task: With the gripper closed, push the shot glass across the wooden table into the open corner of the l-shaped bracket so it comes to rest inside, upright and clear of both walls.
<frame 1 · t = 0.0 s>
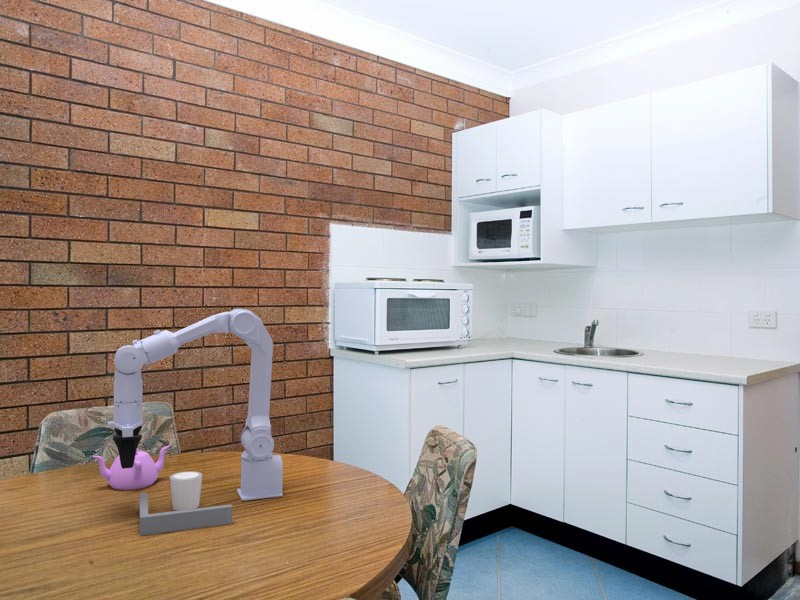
hand: (127, 463, 133), 10 cm above the table, fingers open, 7 cm apart
shot glass: (185, 507, 136), on the table
l-shaped bracket: (188, 516, 130), on the table
teapot: (131, 485, 151), on the table
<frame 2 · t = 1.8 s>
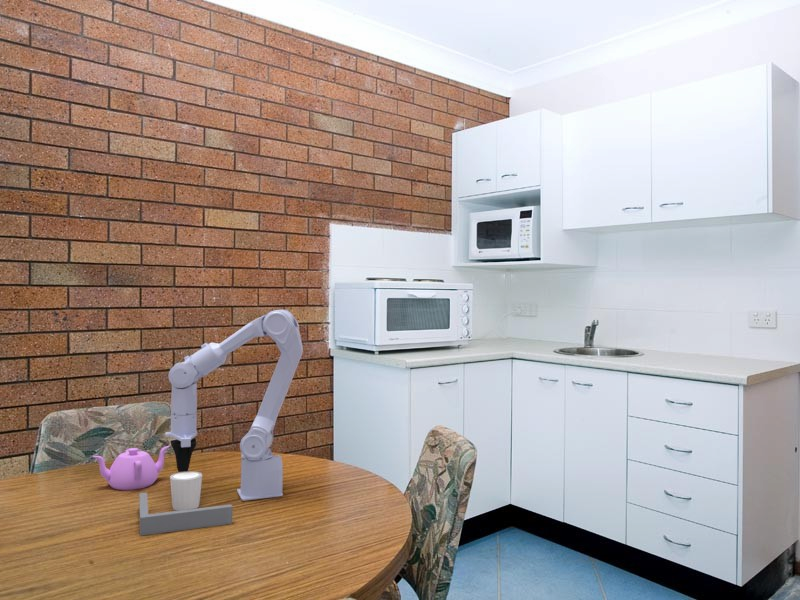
hand: (182, 471, 143), 6 cm above the table, fingers closed
nothing on the table moved.
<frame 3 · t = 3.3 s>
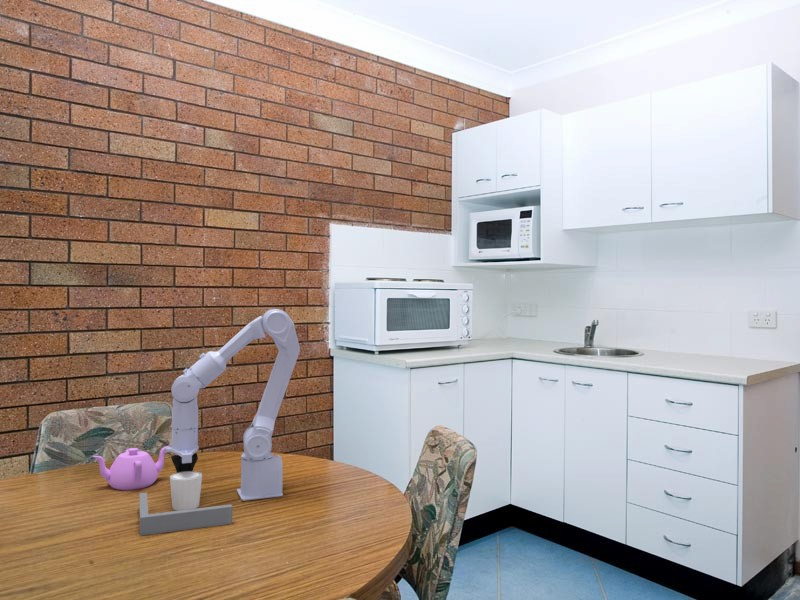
hand: (184, 486, 140), 3 cm above the table, fingers closed
shot glass: (185, 507, 136), on the table, touching gripper
everything else where it was.
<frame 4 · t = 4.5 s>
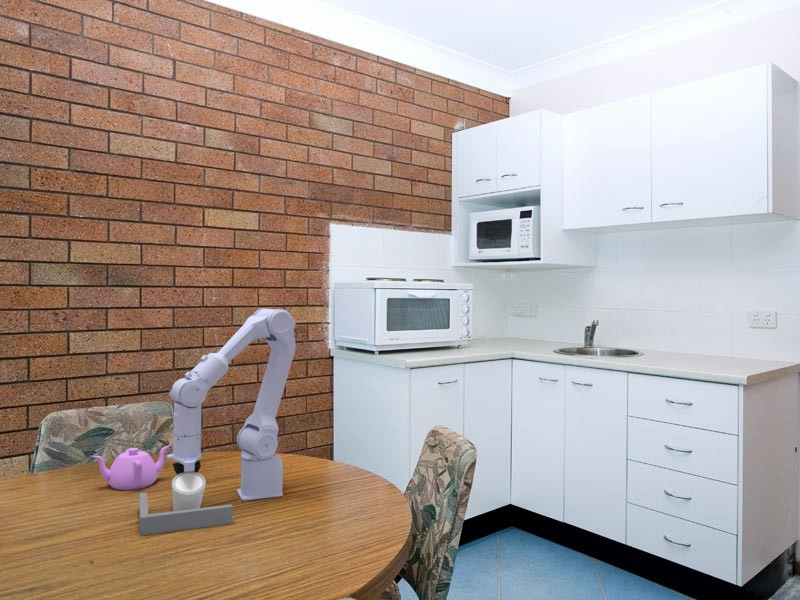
hand: (186, 495, 134), 3 cm above the table, fingers closed, pressing on shot glass
shot glass: (186, 507, 132), point 1 cm above the table, touching gripper
everything else where it was.
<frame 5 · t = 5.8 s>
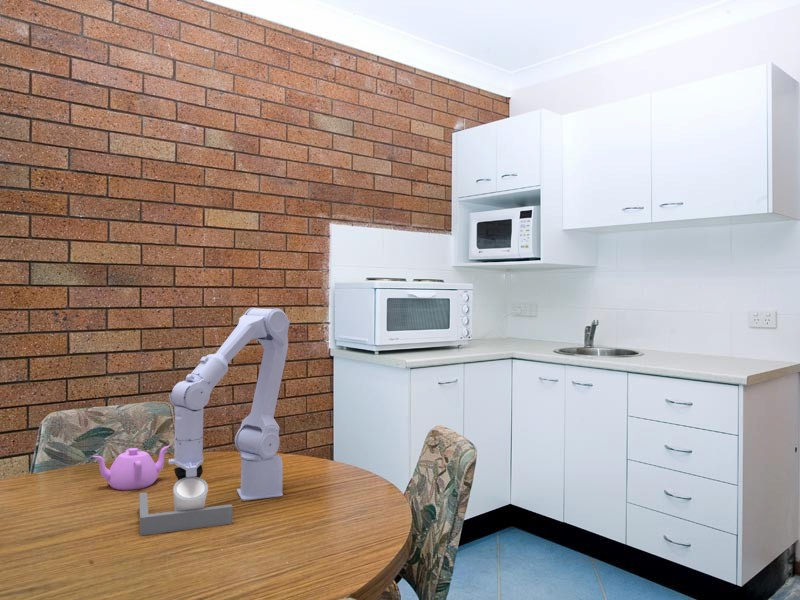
hand: (188, 501, 130), 3 cm above the table, fingers closed, pressing on shot glass
shot glass: (188, 513, 128), point 1 cm above the table, touching gripper
everything else where it was.
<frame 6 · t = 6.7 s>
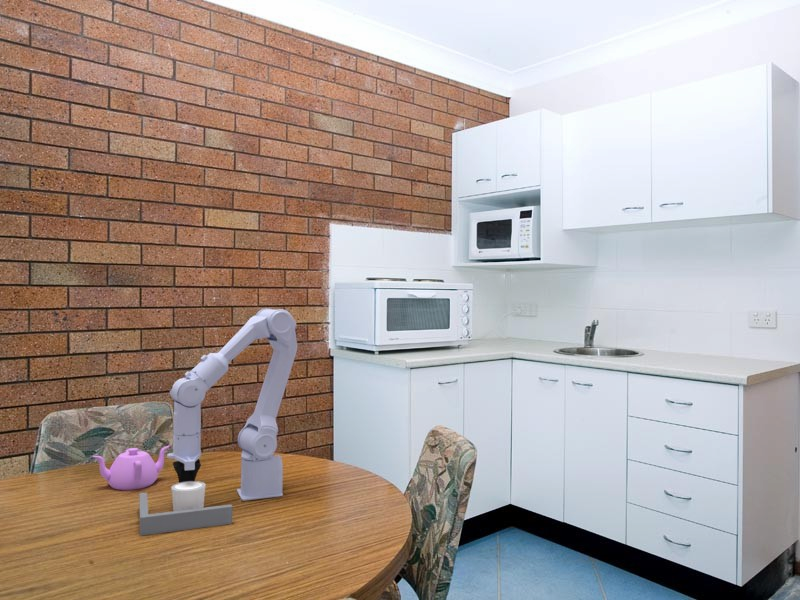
hand: (186, 494, 135), 3 cm above the table, fingers closed
shot glass: (188, 519, 128), on the table
everything else where it was.
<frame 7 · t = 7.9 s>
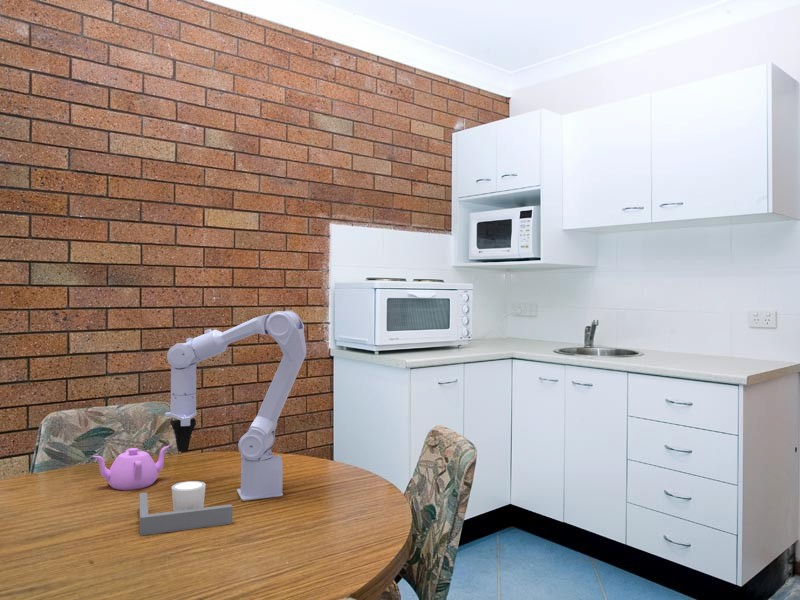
hand: (182, 450, 145), 10 cm above the table, fingers closed
nothing on the table moved.
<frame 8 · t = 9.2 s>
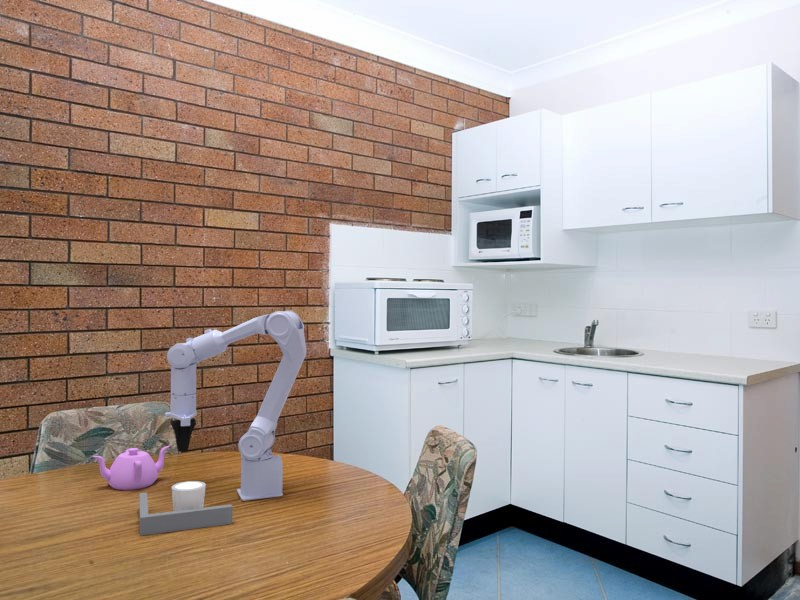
hand: (182, 450, 145), 10 cm above the table, fingers closed
nothing on the table moved.
at the end: shot glass 0.7 cm from the target spot, on the table; shot glass tilted 0°; shot glass touching table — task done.
